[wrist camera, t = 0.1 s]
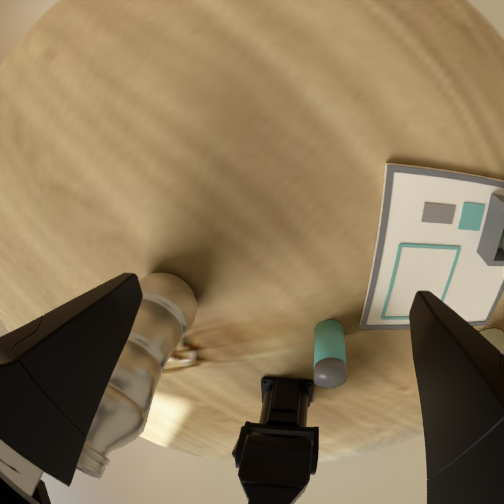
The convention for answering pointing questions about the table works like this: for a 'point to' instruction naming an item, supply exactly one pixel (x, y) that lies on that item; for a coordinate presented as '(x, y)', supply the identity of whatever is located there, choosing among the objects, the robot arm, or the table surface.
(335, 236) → the table surface
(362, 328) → the activity board
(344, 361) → the teal cylinder
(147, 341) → the plastic bottle
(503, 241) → the key
